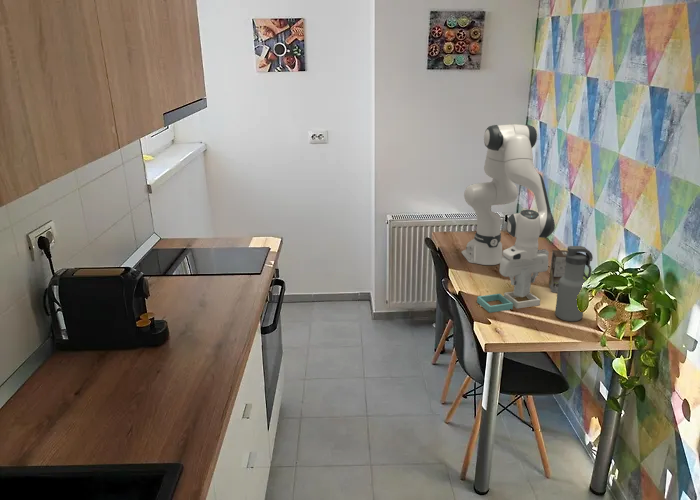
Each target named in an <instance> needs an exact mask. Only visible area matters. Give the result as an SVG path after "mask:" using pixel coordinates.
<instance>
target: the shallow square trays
mask: <svg viewBox="0 0 700 500" xmlns="http://www.w3.org/2000/svg"><path fill="white" fill-rule="evenodd" d="M524 297H525V298H527V299H528V300H522V301H518V300H517V299H515V298H520V297H519V296H516V295H514V290H512V291H508V292H507V291H506V292H503V294H502V293H493V294H486V295H479V296H476V303H478V304H479V305H480V306H481V307H482V308H483V309H484V310H486V311H487V312H488V313H497V312H504V311H510V309H511V310H513V309H514V308H515V309H517V310H518V309H523V308H529V307H530V308H531V307H537V306H540V304H541V299H540V298H538V297H537V296H536V295H535V294H533V293H532V292H530V293H529V294H527V295H526V296H524ZM493 301H494V302H495V301H499V302H500V303H501V304H495V305H494V304H493V305H491V304H489V303H488V302H493Z"/></svg>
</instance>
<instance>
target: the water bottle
mask: <svg viewBox="0 0 700 500" xmlns="http://www.w3.org/2000/svg"><path fill="white" fill-rule="evenodd" d="M566 251H568V253H567V254H566V261H565V262H566V266H565V274H564V276H563V277H561V278H560V280H559V285H558V292H556V294H557V295H556V301H555V303H556V304H555V309H554V310H555V311H554V313H555V316H556V317H557V318H559V319H560V320H563V321H566V322H578V321H580V320H582V318H583V314H584V311H583V312H580V311H579V310H578V307H577V300H576V299H577V295H578V294H579V292H580V290H581V288H582V285H583V283H584V282H585V281H586V280H589V279H588V278H589V277H590V278H591V274H592V266H591V265H590V264H591V262H592V261H593V259H594V258H593V254H592V252H591V251H590V250H589V249H588V248H586V247H585V246H581V245H569V246H567V250H566ZM584 253H585V254H584ZM586 267H587V268H588V275H586V274H585V270H586ZM585 279H586V280H585Z"/></svg>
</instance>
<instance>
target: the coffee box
mask: <svg viewBox="0 0 700 500" xmlns="http://www.w3.org/2000/svg"><path fill="white" fill-rule="evenodd" d="M567 253H568V250H565V249H564V250H563V249H559V250H558V249H557V250H556V249H552V253H551V262H550V270H549V271H550V272H549V279H548V287H549V289H550V291H551V292H552V293H558V285H559V280H560V278H561V277H563V276H564V274H565V266H566V262H565V261H566V254H567Z"/></svg>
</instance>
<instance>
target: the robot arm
mask: <svg viewBox="0 0 700 500" xmlns="http://www.w3.org/2000/svg"><path fill="white" fill-rule="evenodd" d="M537 140H538V132H537V130H536V127H535V126H533V125H529V124H519V123H518V124H515V123H511V124H498V125H497V124H493V125H490V126H488V127H487V128H486V129H485V132H484V135H483V142H484V146H485V147H486V148H487V151H486V155H485V161H484V167H483V170H484V173H485V175H487V176H488V177H489V178H492V180H491V181H490V182H477V183H474V184H469V185H468V186H467V187H466V188H465V190H464V194H463V197H464V200H465V202H466V204H467V205H468V206H470V207H471V208H472V210H473V211H474V212H475V216H476V230H475V231H474V233H473V234H474V237H473V238H472V239H471V240H469V241H468V242H467V244H466V245H465V249H464V250H462V251H461V254H462V255H463V257H464V258H465V259H466V260H467V262H468V263H471V264H478V265H483V266H495V265H496V266H497V265H499V274H500V275H501V276H503V277H504V278H506V277H508V278H509V280H510V285H512V286H514V285H516V281H515V275H521V269H525V268H529V272H528V273H529V274H530V273H532V275H531V284H532V283H535V282H536V278H537V277H538V276H539V273H543V272H545V273H546V272H547V271H548V269H549V251H548V249H545V248H542V249H539V238H543V239H546V238H548V237H550V235H552V234H553V232H555V228H556V227H555V220H554V216H553V213H552V210H551V207H550V201H549V196H548V193H547V188H546V184H545V180H544V178H543V176H542V174H541V173H538V171H537V170H536V168H535V165H534V157H533V156H534V155H533V148H534V147H535V145H536V143H537ZM517 185H518V186H522V187H524V188H526V189H529V190H530V191H531V192H532V193H533V196H534V199H535V203H536V208H537V211H536V210H533V209H522V210H521V211H519V213H518V212H517V213H512V214H511V215H510V216H508V217H507V219H506V232H507V233H508V234H509V235H510V236H512V238H513V237H514V238H515V242H514V245H512V246H510V247H508V248H506V249H504V250H503V242H501V241H502V240H501V239H502V233H501V230H502V229H501V227H502V218H501V216H500V215H499V214H498V213H496V212H494V211H492V206H500V205H501V206H505V205H508V204H512V203H514V202H515V201H517V198H518V195H519V189H518V187H517Z"/></svg>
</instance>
